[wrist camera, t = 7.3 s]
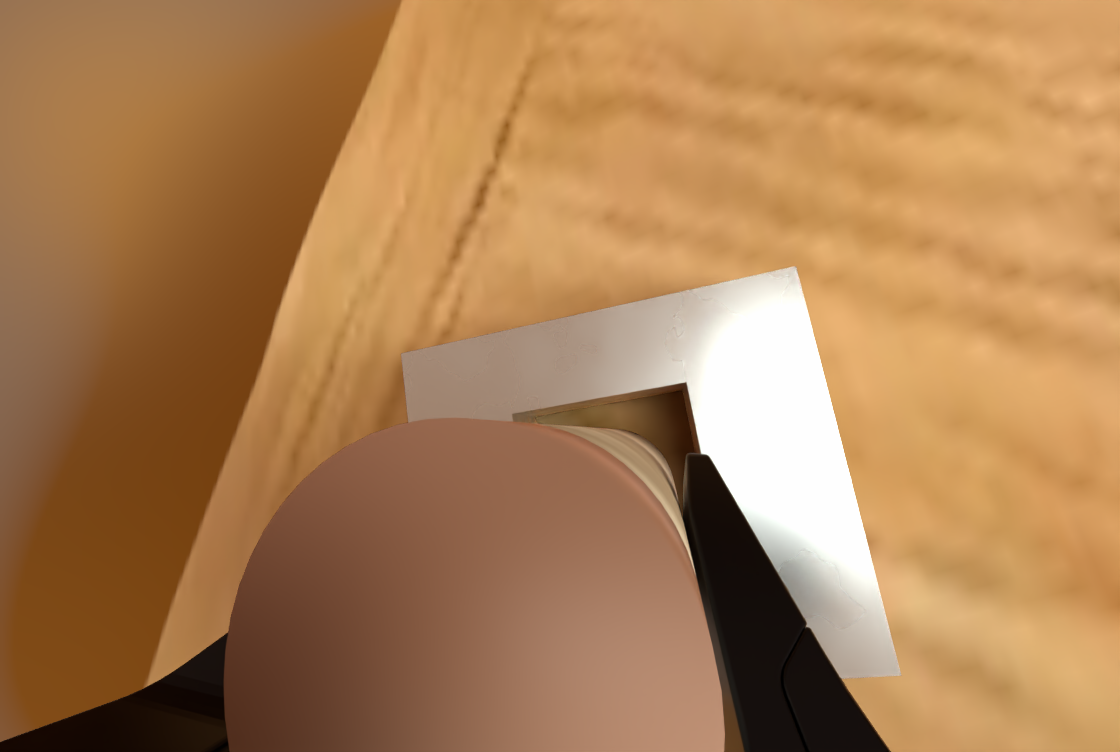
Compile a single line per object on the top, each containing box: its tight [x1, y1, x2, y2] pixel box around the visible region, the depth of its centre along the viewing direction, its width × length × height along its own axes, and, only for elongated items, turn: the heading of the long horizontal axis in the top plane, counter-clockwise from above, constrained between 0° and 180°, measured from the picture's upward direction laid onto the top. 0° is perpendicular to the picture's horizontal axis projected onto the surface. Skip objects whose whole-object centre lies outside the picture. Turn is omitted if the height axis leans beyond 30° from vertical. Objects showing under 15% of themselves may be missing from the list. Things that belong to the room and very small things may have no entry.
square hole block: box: [401, 266, 901, 679], centre depth 16 cm, size 12×14×3 cm
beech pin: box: [224, 418, 725, 752], centre depth 9 cm, size 4×4×12 cm
